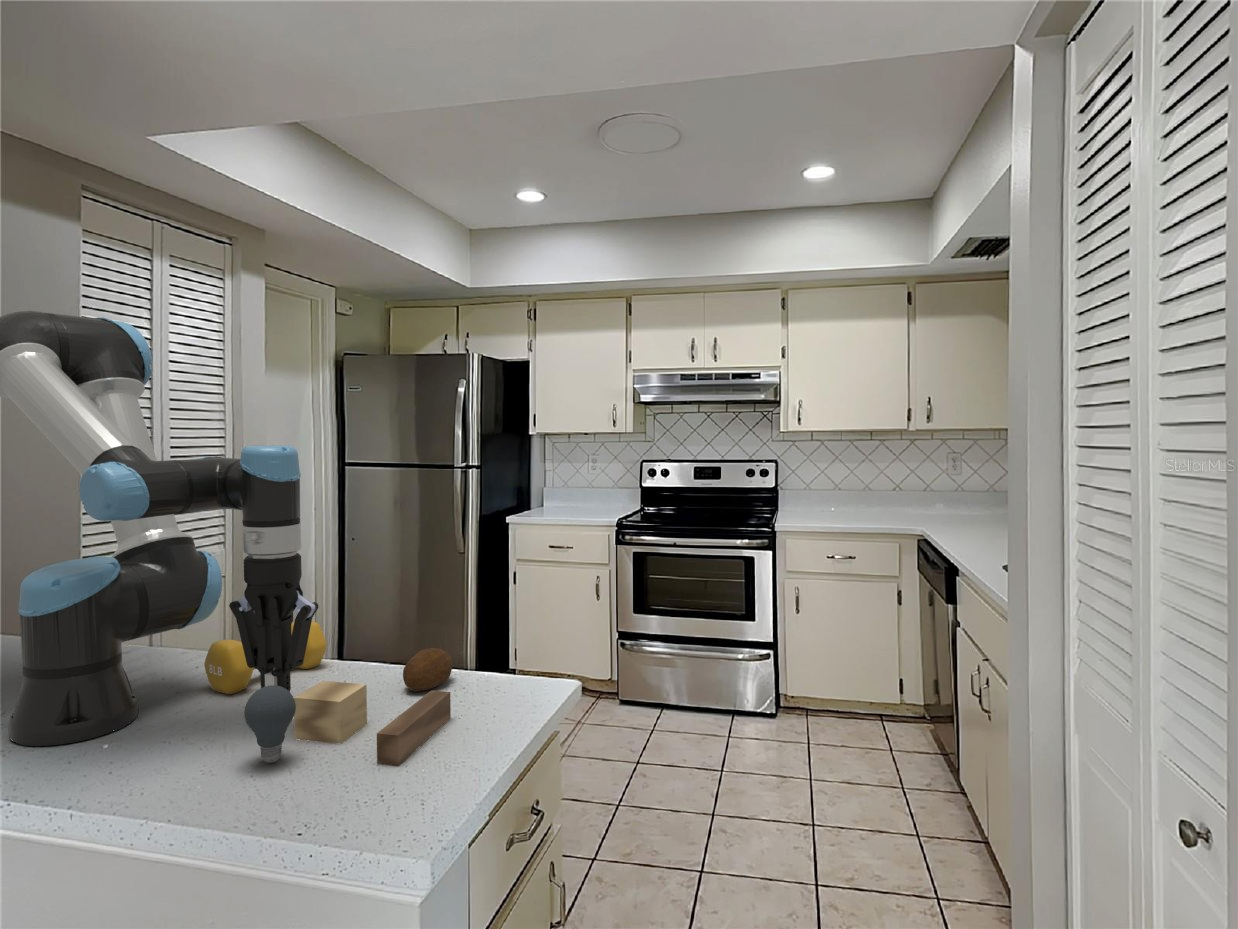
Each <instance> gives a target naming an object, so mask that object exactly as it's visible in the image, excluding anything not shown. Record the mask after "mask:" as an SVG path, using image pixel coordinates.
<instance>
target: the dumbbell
mask: <svg viewBox="0 0 1238 929" xmlns="http://www.w3.org/2000/svg"><path fill="white" fill-rule="evenodd" d="M293 626H294V621H293V622H292V624H291V633H292V631H293ZM325 637H326V636H325V635H324V632H323V629H322V627H321V625H320V624H319V623H318V622H316V621H313V620H312V622H311V627H310V632H309V637H308V642H307V647H306V652H305V657H304V662H303V664H302V665H301V666H299V667H297V668H296V669H302V670H309V669H312V668H315V667H319V665H320V664H321V663H322V661H323V658H324V656H325V654H326V651H327V645H328V644H327V641H326V638H325ZM254 670H257V669H256V668H254V667H253V668H249V667H248V666H247V663H246V658H245V654H244V650H243V646H242V642H241V641H239V640H235V639H221V640H219V641H218V640H217V641H214V642H213V643H211V645H210V646H209V649H208V650H207V654H206V656H205V660H204V671H205V673H206V676H207V679H208V682H209V685H210V687H211V689H212V690H213V691H215V690H216V692H218V691H219V692H218V693H221V692H222V693H221V694H224V693H225V694H226V695H233V694H235V693H238V692H242V691H243V690H245V689H246V688H247V687H248V684H249V683H250V681H251V678H252V675H253V672H254ZM225 694H224V695H225Z"/></svg>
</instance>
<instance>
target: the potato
mask: <svg viewBox="0 0 1238 929" xmlns="http://www.w3.org/2000/svg"><path fill="white" fill-rule="evenodd" d="M452 670H453V661H452V658H451V656H450V654H449V653H448V652H447V651H444V649H441V648H435V647H430V648H425V649H421V650H419V651H418V652H416V653H415V654H414V656H412V657H411V658H410V659H409V660H408V661H407V663H406V664H405V665H404V667H403V670H402V680H403V683H404V685H405V687H407V688H408V689H409V690H412V691H415V692H422V691H426V690H429V689H433V688H435V687H437V686H441V685H443V684H445V683H446V682H447V681H448V680H449V678H450V677H451V674H452Z"/></svg>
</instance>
